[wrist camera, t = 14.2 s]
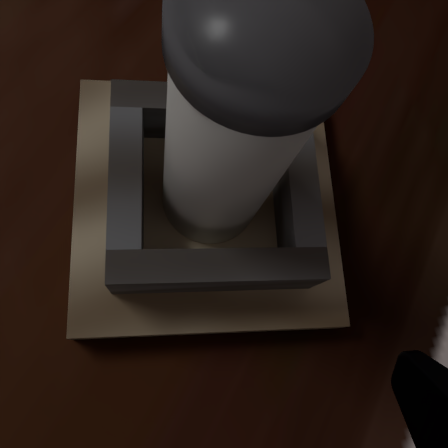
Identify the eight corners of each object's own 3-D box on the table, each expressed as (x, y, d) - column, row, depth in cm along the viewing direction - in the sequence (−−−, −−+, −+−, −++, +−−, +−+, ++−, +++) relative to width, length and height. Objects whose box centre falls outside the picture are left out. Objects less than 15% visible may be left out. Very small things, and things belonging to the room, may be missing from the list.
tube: (262, 246, 23) (389, 116, 10) (158, 248, 22) (162, 106, 9) (255, 154, 24) (358, -56, 12) (158, 151, 23) (161, -77, 11)
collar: (338, 328, 23) (378, 321, 19) (72, 339, 21) (51, 335, 17) (311, 104, 27) (339, 58, 23) (84, 95, 25) (70, 42, 21)
